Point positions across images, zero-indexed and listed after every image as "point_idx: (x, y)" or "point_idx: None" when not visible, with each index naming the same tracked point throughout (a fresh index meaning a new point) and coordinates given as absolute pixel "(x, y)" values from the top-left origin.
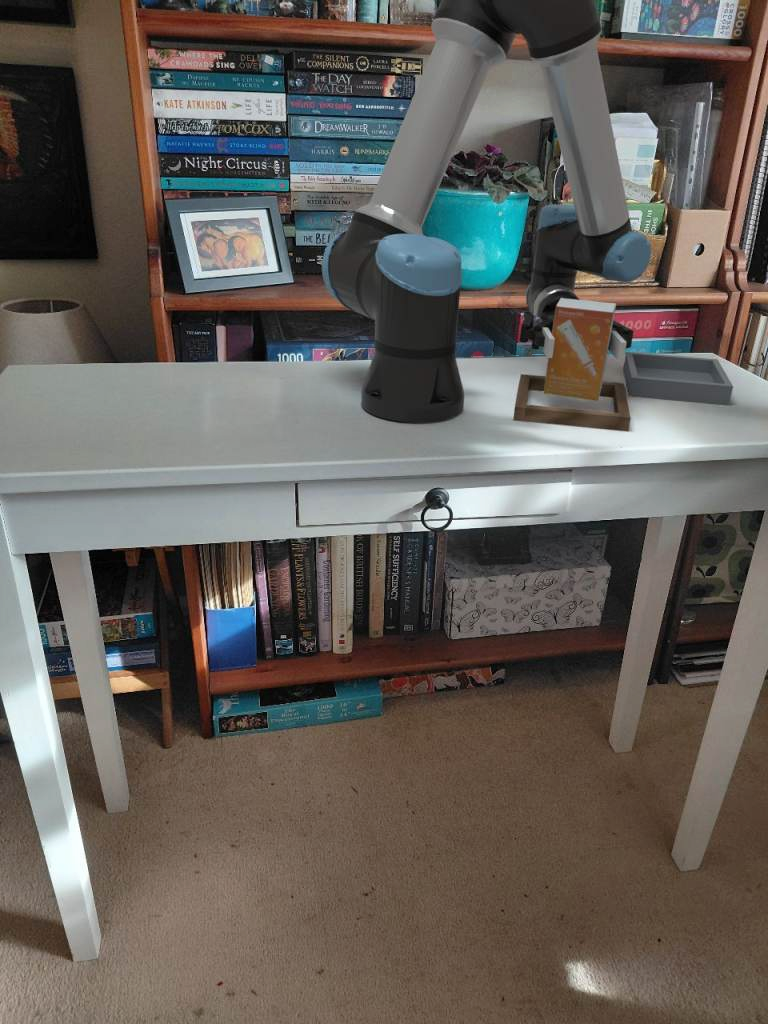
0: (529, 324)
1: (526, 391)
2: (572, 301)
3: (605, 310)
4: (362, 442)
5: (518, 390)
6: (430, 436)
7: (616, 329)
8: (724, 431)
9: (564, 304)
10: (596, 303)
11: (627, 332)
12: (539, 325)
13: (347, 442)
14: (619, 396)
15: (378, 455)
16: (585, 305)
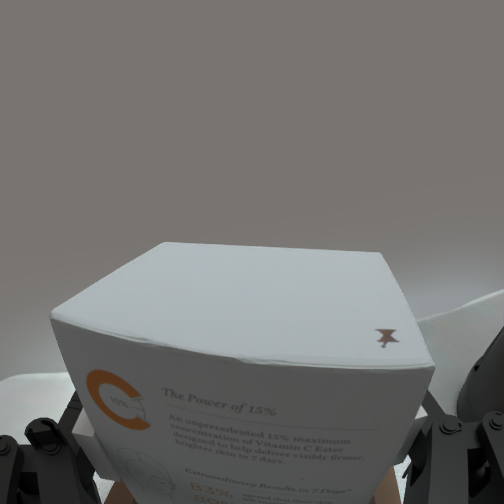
0: (492, 443)
1: (377, 498)
2: (327, 295)
3: (184, 245)
4: (484, 328)
5: (397, 497)
6: (446, 353)
7: (63, 434)
8: (16, 404)
9: (355, 261)
10: (177, 293)
11: (18, 446)
12: (455, 455)
13: (492, 325)
14: (124, 499)
15: (455, 315)
16: (255, 263)
